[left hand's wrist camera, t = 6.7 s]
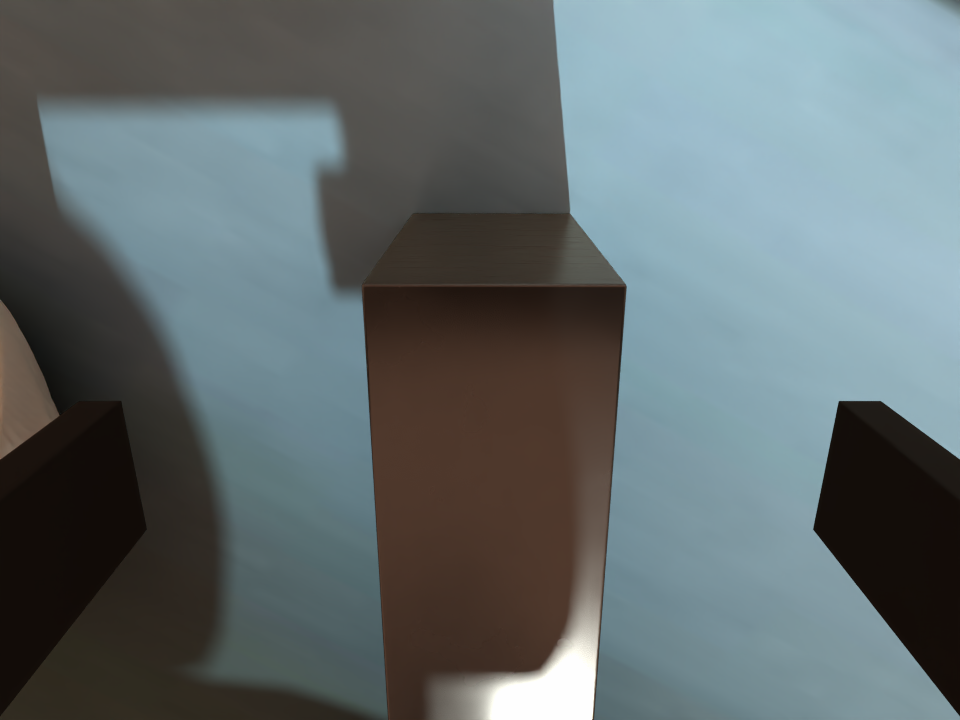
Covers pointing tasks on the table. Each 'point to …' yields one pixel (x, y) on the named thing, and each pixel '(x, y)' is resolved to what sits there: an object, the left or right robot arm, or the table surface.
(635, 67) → the table surface
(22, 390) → the skull bowl
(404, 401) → the bar
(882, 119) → the table surface
